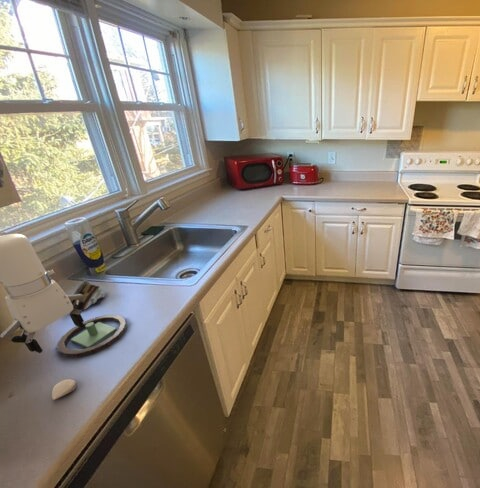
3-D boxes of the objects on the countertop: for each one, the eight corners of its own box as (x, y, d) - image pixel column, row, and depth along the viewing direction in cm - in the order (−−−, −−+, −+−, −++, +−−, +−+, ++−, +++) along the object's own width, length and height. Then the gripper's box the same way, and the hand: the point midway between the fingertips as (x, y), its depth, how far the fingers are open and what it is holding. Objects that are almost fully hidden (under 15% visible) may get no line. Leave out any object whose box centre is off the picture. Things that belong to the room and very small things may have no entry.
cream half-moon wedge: (81, 383, 69) (77, 376, 68) (65, 402, 64) (60, 395, 63) (63, 384, 69) (59, 377, 68) (46, 403, 64) (41, 396, 63)
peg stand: (71, 341, 81) (65, 330, 79) (100, 324, 88) (94, 312, 86) (89, 349, 79) (83, 337, 77) (117, 330, 85) (112, 319, 84)
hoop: (47, 347, 79) (44, 344, 79) (104, 313, 93) (103, 310, 92) (83, 364, 74) (81, 360, 73) (138, 325, 88) (137, 321, 87)
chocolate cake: (84, 316, 92) (100, 280, 96) (61, 311, 91) (78, 276, 95) (100, 317, 101) (114, 285, 105) (79, 312, 100) (94, 280, 104)
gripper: (60, 264, 76) (86, 314, 83) (-30, 302, 61) (10, 358, 69) (78, 269, 73) (102, 320, 81) (-13, 309, 59) (27, 367, 66)
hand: (60, 337), depth 75 cm, fingers open, 9 cm apart
